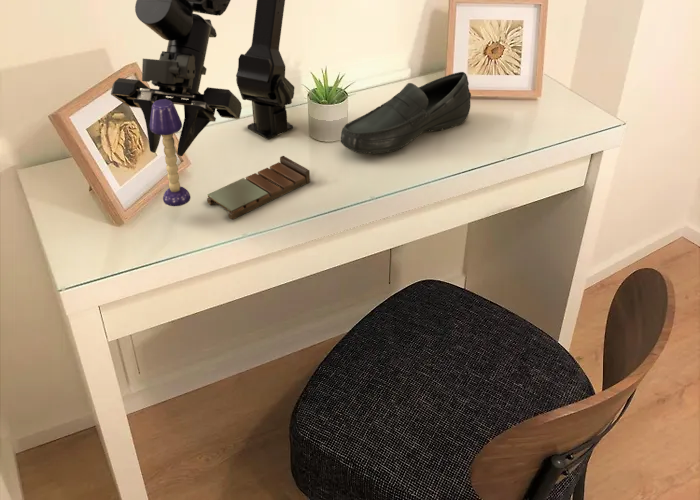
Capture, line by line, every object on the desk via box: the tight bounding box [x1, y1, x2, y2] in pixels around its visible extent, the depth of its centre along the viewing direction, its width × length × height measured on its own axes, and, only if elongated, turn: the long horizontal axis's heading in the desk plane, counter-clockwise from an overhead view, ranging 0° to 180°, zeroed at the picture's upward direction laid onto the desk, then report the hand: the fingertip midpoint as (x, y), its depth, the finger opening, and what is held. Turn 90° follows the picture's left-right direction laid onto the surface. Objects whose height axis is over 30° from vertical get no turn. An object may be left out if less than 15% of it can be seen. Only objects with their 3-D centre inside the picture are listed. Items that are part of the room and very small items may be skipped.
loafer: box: [340, 71, 472, 155], centre depth 140 cm, size 10×29×10 cm, turn 131°
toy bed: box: [206, 155, 311, 221], centre depth 126 cm, size 16×7×2 cm, turn 134°
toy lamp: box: [150, 99, 192, 207], centre depth 114 cm, size 5×5×17 cm
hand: (165, 153), depth 112 cm, fingers closed on toy lamp, 4 cm apart
